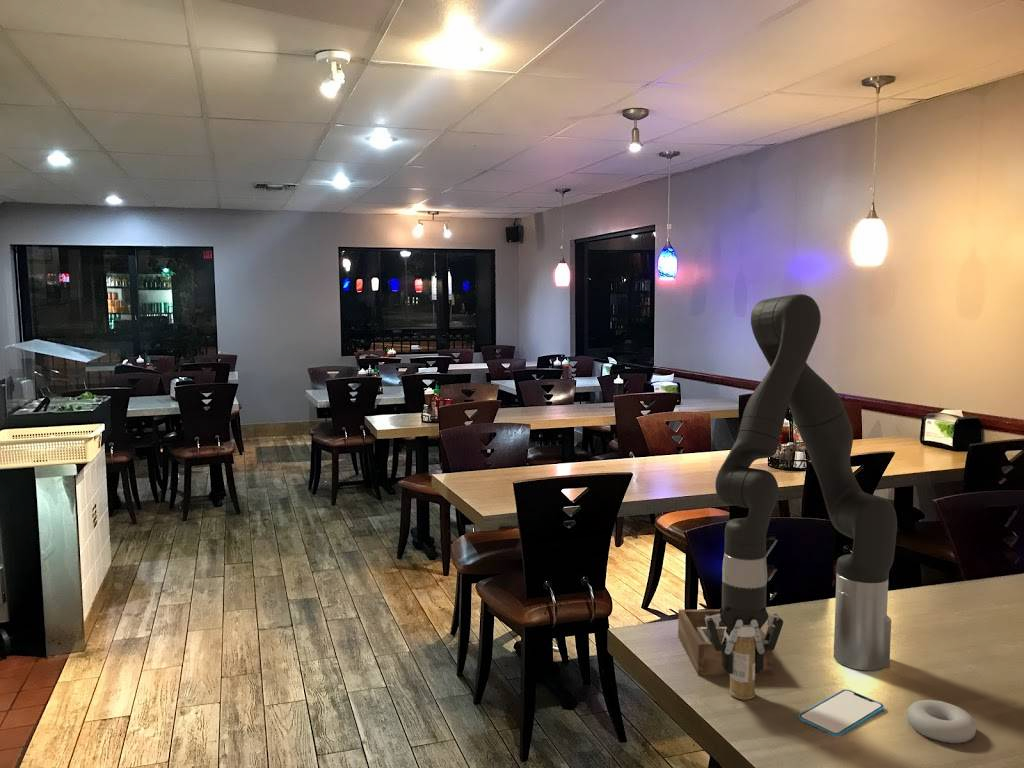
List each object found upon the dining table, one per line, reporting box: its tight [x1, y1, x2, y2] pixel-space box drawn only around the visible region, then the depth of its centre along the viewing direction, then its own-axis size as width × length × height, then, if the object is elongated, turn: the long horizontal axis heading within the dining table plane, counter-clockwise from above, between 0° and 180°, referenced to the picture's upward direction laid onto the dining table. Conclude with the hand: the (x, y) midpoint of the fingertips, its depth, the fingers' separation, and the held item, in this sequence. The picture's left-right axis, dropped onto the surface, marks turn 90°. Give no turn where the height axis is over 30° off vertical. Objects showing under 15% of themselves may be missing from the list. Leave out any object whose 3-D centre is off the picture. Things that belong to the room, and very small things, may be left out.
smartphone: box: [798, 688, 885, 737], centre depth 131 cm, size 8×1×15 cm
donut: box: [906, 699, 977, 744], centre depth 126 cm, size 10×4×10 cm
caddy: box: [677, 608, 774, 676], centre depth 154 cm, size 14×17×6 cm
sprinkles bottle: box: [728, 625, 756, 701], centre depth 137 cm, size 5×5×14 cm
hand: (742, 671), depth 138 cm, fingers closed on sprinkles bottle, 4 cm apart
